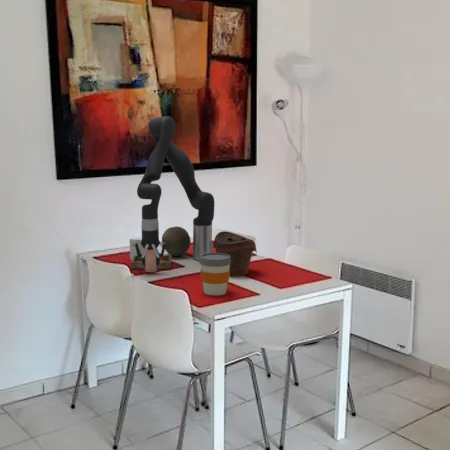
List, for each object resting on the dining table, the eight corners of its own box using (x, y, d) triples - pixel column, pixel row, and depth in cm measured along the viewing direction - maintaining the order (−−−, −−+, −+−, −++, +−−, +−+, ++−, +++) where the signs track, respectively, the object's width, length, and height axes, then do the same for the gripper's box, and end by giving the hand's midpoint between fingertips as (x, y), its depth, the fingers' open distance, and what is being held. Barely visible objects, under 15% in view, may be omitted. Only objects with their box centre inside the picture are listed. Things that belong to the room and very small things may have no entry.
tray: (171, 262, 300) (171, 255, 300) (170, 269, 286) (170, 262, 286) (133, 262, 299) (133, 255, 299) (131, 270, 285) (131, 262, 285)
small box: (148, 257, 309) (148, 237, 307) (146, 260, 303) (145, 239, 301) (132, 257, 309) (132, 236, 307) (129, 260, 304) (129, 238, 302)
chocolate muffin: (253, 279, 272) (253, 238, 269) (208, 276, 276) (208, 236, 273) (259, 269, 290) (259, 231, 287) (217, 267, 294) (217, 229, 290)
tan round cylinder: (157, 269, 283) (156, 247, 281) (156, 272, 277) (156, 250, 276) (145, 269, 282) (145, 247, 280) (144, 272, 277) (144, 250, 275)
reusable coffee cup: (193, 293, 251) (193, 257, 249) (211, 286, 262) (211, 251, 259) (219, 298, 245) (219, 261, 242) (236, 291, 255) (236, 255, 252)
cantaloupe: (165, 252, 320) (164, 223, 317) (192, 253, 318) (192, 224, 315) (159, 259, 306) (159, 229, 303) (188, 260, 305) (188, 230, 302)
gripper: (166, 226, 280) (167, 263, 283) (134, 226, 279) (135, 263, 283) (166, 229, 273) (166, 267, 276) (133, 230, 272) (134, 267, 275)
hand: (150, 265), depth 279 cm, fingers closed on tan round cylinder, 5 cm apart
